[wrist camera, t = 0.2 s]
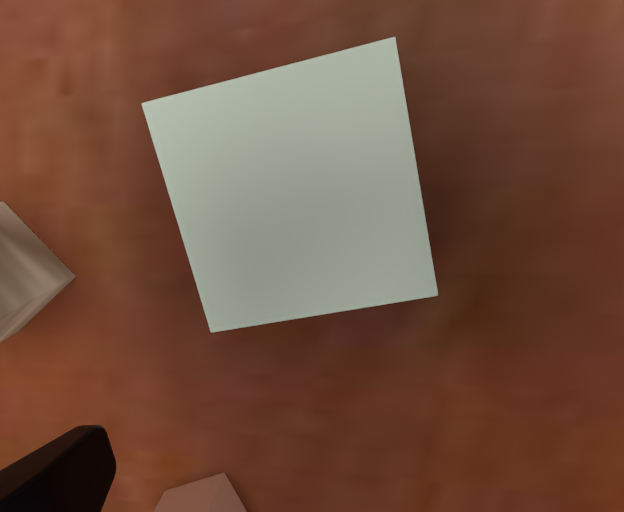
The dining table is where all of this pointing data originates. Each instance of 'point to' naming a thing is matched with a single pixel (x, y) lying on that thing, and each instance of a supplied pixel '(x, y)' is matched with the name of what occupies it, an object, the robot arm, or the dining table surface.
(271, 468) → the dining table surface
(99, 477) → the robot arm
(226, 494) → the pinkish beige block
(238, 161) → the sage block
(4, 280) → the birch pillar
